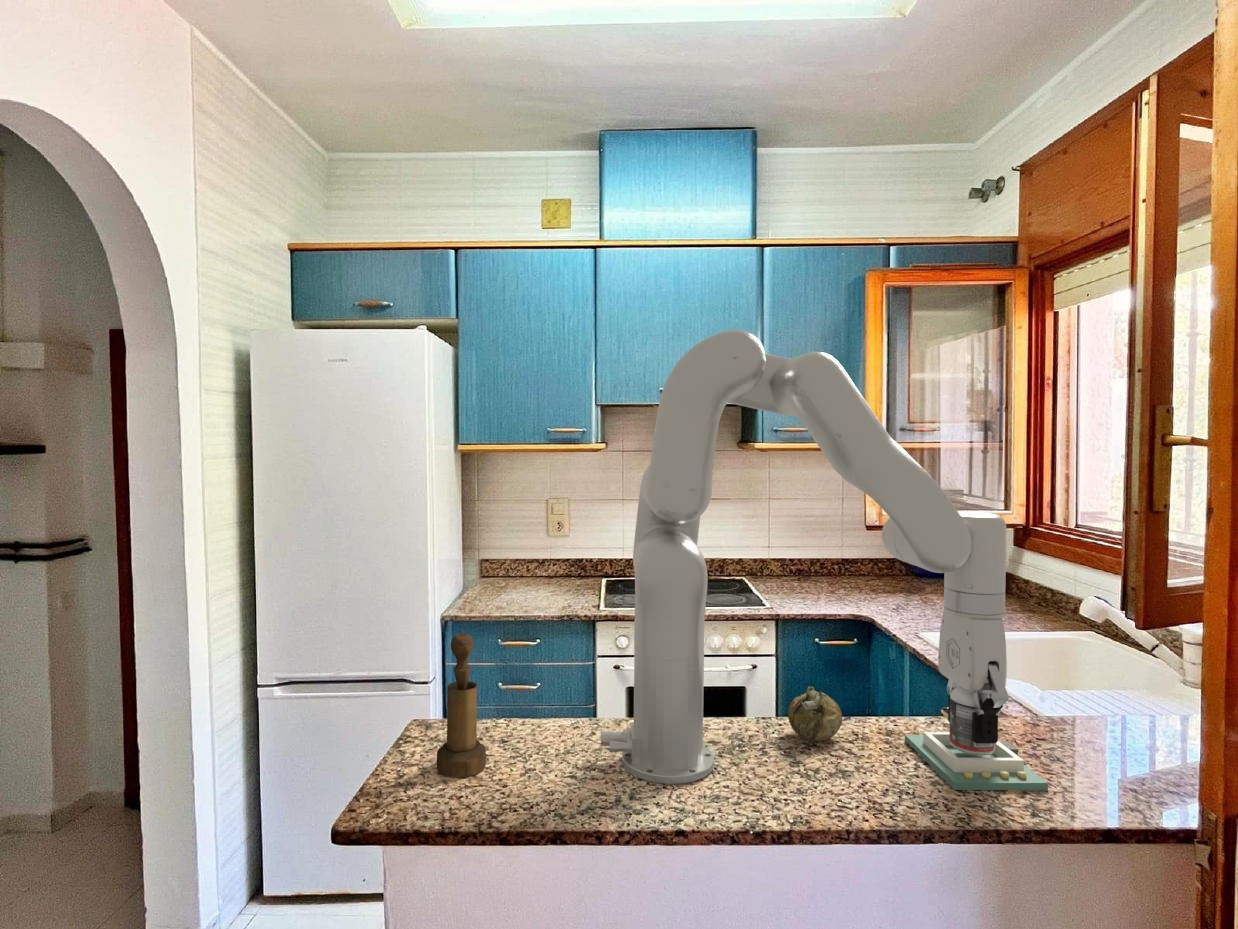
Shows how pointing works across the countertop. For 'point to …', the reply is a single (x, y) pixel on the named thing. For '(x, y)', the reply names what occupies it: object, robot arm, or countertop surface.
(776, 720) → the countertop surface
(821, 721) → the onion
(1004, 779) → the board
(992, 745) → the pill bottle
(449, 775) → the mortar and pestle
